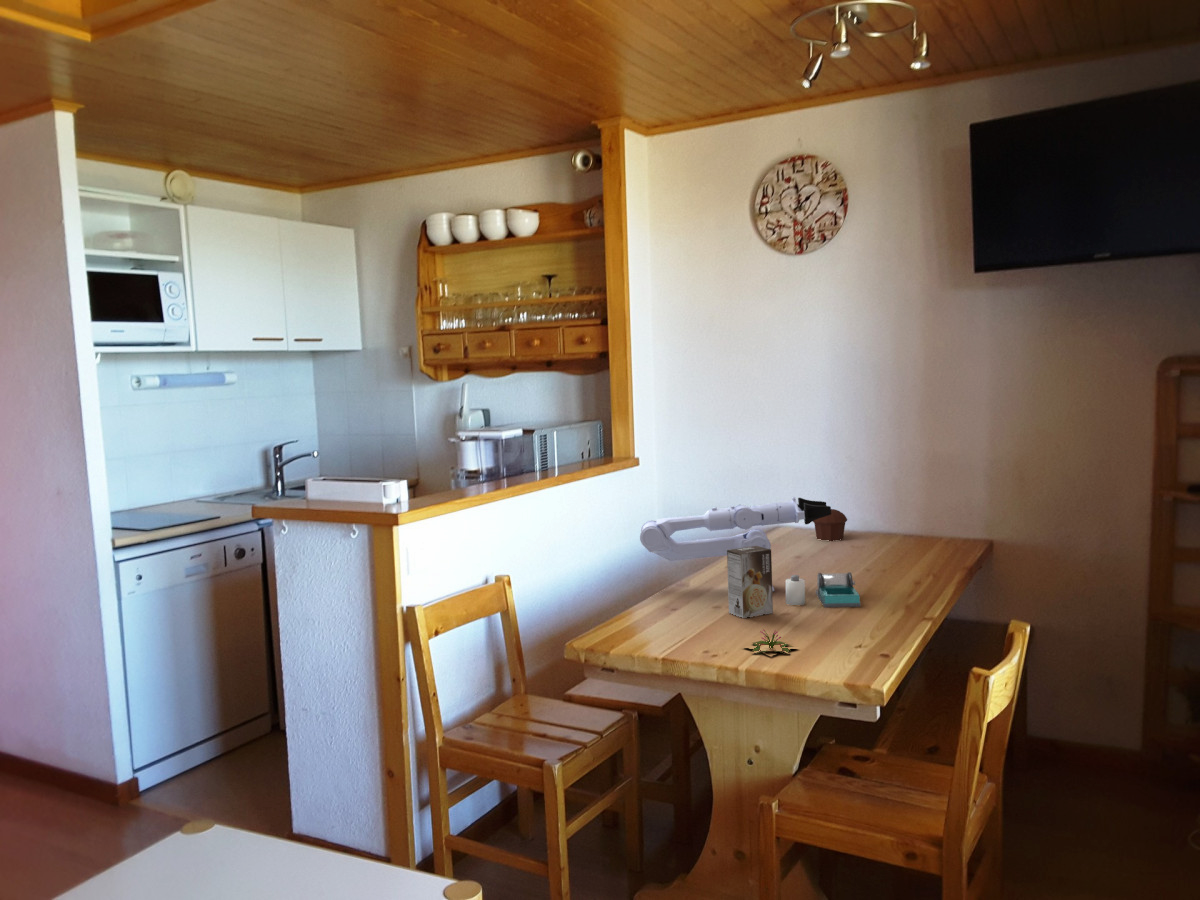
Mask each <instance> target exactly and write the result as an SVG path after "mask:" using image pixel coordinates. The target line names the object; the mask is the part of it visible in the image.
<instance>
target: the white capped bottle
mask: <svg viewBox="0 0 1200 900" xmlns="http://www.w3.org/2000/svg"><path fill="white" fill-rule="evenodd" d="M805 587H806V580H805V579H803V578H800V575H799V574H791V575H790V578H787V579H785V604H786V605H787V604H789V605H788V606H790V605H802V606H804V604H805V605H806V588H805Z"/></svg>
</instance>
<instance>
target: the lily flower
mask: <svg viewBox="0 0 1200 900" xmlns="http://www.w3.org/2000/svg"><path fill="white" fill-rule="evenodd" d="M764 632H765V633H764ZM759 633H761V634H762V635H763V637H760V638H761V639H762V640H757V641H754V642H752V645H754V646H757V647H756V648H754V649H753V650H752V651H753V652H754V651H759V650H760V646H761V645H769V648H770V646H771V648H772V649H774V648H773V646H774V645H780V647H781V648H782V647H784V646H788V644H785V643H786V642H784V641H779V640H780V639H781V638H782V636H779V637H778V635H779V634H778V633H779V631H776V630H773V634H772V636H771V637H772V638H770V636H769V634H768V633H767V632H766V630H765V629H762V631H761V630H760V632H759ZM777 637H778V638H777ZM768 640H769V641H768ZM770 640H771V642H770ZM766 641H767V642H766ZM773 641H774V642H773ZM769 642H770V643H769ZM755 643H757V644H755ZM759 644H760V645H759ZM781 644H784V645H781ZM789 646H790V647H794V646H792V645H789ZM769 648H768V649H769ZM771 648H770V649H771ZM782 651H786V652H790V651H789V649H788V648H782ZM762 652H766V653H767V650H766V651H761V650H760V652H758V653H757V654H759V653H762ZM776 652H779V653H783V652H781V651H776V650H775V653H776ZM783 654H784V653H783Z"/></svg>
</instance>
